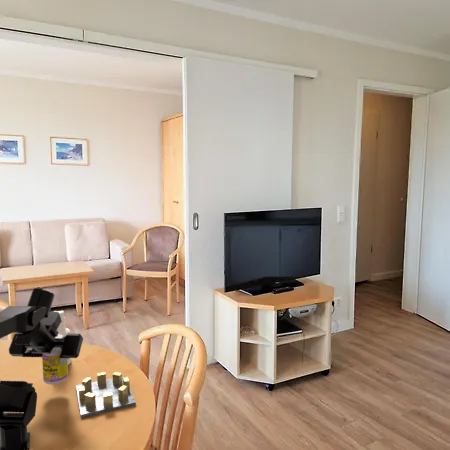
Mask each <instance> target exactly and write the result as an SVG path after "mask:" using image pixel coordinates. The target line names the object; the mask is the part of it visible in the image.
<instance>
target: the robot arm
mask: <svg viewBox="0 0 450 450" xmlns="http://www.w3.org/2000/svg"><path fill="white" fill-rule="evenodd" d="M54 299H55V293H54V292H50V291H49V290H45V289H43V288H42V287H34V288H33V290H32V291H31V294H30V297H29V300H28V302H27V305H8V306H7V307H5V308H4V309H2V310H1V311H0V340H1V339H3V338H5V337H7V336H10V335H11V334H13V333H15V334H14V335H13V337H12V339H11V342H10V345H9V347H8V354H9V355H11V356H12V357H21V358H42V354H50V353H51V351H52V349H53V348H54V347H59V348H60V349H61V350H62V351H61V354H60V358H71V359H77V358H79V356H80V352H81V349H82V345H83V341H84V337H83V336H82V334H81V333H71V332H70V333H68V334H67V335H66V336H65V337H63V338H55V337H57V336H58V333H59V332H58V331H57V329H58V327H59V325H60V323H61V322H62V321H61V317H60V314H59V312H54V311H51V309H52V306H53V302H54ZM57 341H58V342H57ZM33 385H34V384H33V383H32V382H30V383H29V382H27V381H25V380H0V450H30V446H31V445H30V444H31V443H30V442H31V439H30V438H31V433H30V432H29V431H28V425H29V424H30V423H31V421H32V420H34V418H35V416H36V412H37V411H36V410H37V401H38V393H37V391H36V388H35V387H34V386H33Z"/></svg>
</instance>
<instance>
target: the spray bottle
mask: <svg viewBox="0 0 450 450" xmlns="http://www.w3.org/2000/svg"><path fill="white" fill-rule="evenodd" d="M53 312H59V314H60V317H61V321H62V322H61V323H60V325H59V327H58V329H57V331H58V332H59V333H58V334H61V335H62V336H63V337H65V336H66V335H67V334H68V333H71V329H70V328H68V327H66V317H65V311H64V310H58V311H57V310H54V311H53ZM67 361H68V366H69V365H70V364H71V363H72V361H73V360H72V358H67Z"/></svg>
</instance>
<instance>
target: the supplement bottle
mask: <svg viewBox="0 0 450 450" xmlns="http://www.w3.org/2000/svg"><path fill="white" fill-rule="evenodd" d="M55 338H63V336H62V335H61V334H58V336H57V337H55ZM57 342H58V341H57ZM61 351H62V350H61V349H60V348H59V347H54V348H53V349H52V351H51V353H50V354H42V357H41V359H42V360H41V362H42V381H43V382H44V383H45V384H47V385H59V384H62V383H64V382H65V381H66V380H67V379H68V376H69V367H68V366H69V365H68V361H67V358H60V354H61Z"/></svg>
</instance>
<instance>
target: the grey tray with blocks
mask: <svg viewBox="0 0 450 450" xmlns="http://www.w3.org/2000/svg"><path fill="white" fill-rule="evenodd" d="M75 392H76V397H77V398H76V399H77V402H78V403H77V404H78V408H79V409H78V410H79V414H80V419H84V418H89V417H92V416H96V415H100V414H104V413H105V414H107V413H109V412H110V413H111V412H114V411H117V410H122V409H126V408H132V407H134V406H137V402H136V400H135V397H134V395H133V392H132V390H131V388H130V379H129V376H126V375H123V372H118V371H115V372H113V373H112V377H111V378H107V374H106V372H105V371H104V372H99V373H96V381H92V377H86V378H84V379H83V380H82V381H81V384H77V385H75Z"/></svg>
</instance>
